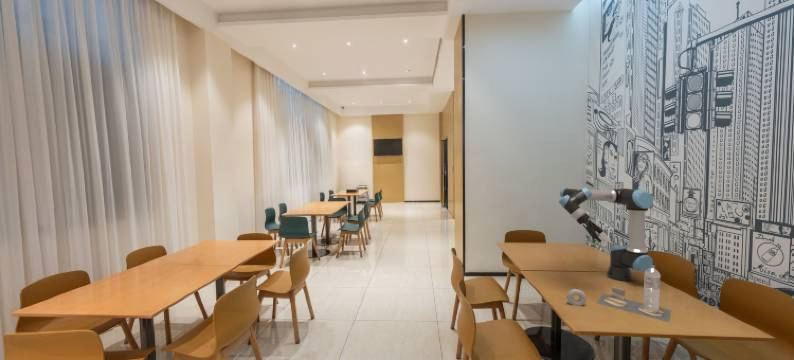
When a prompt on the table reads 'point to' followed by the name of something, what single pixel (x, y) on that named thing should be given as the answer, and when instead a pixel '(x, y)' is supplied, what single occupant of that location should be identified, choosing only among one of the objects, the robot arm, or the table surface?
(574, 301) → the donut
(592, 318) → the table surface
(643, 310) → the ochre tag coaster
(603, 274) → the table surface
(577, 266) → the table surface
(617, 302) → the white tag coaster
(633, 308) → the board
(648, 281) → the water bottle
